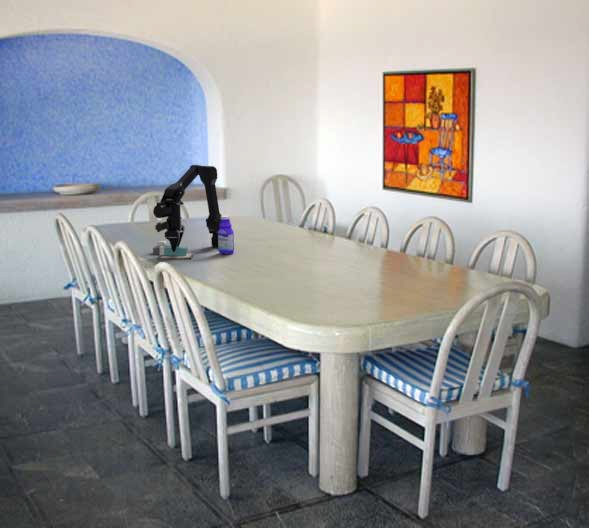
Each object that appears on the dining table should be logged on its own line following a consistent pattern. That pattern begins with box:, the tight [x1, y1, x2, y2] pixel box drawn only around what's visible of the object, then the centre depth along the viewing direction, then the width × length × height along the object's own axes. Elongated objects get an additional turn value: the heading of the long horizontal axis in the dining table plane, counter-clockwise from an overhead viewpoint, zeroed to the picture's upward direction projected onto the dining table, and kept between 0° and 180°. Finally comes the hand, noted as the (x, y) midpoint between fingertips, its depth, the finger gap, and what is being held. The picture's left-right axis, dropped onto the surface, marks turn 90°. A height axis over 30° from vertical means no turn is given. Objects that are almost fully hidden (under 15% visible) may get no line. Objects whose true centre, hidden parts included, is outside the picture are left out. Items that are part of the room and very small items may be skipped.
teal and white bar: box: [160, 246, 189, 256], centre depth 347 cm, size 12×4×4 cm, turn 90°
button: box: [156, 240, 167, 247], centre depth 357 cm, size 4×4×3 cm
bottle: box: [217, 215, 235, 255], centre depth 353 cm, size 7×6×17 cm
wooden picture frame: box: [156, 252, 195, 260], centre depth 347 cm, size 15×11×1 cm
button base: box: [152, 244, 171, 255], centre depth 357 cm, size 7×7×3 cm
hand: (175, 249), depth 347 cm, fingers open, 9 cm apart
